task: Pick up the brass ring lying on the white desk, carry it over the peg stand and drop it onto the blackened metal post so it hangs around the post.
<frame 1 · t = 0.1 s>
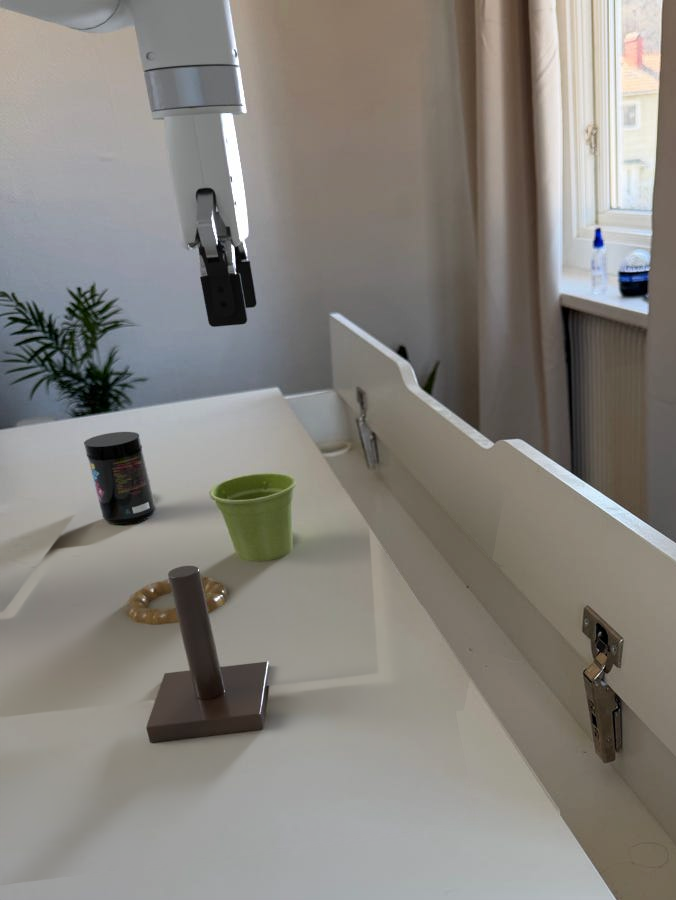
hand: (234, 316, 87), 28 cm above the table, tool pointing down, fingers open, 9 cm apart
plant pot: (266, 560, 112), on the table
supplement container: (130, 518, 128), on the table
ring: (176, 601, 100), point 1 cm above the table
peg stand: (213, 707, 82), on the table
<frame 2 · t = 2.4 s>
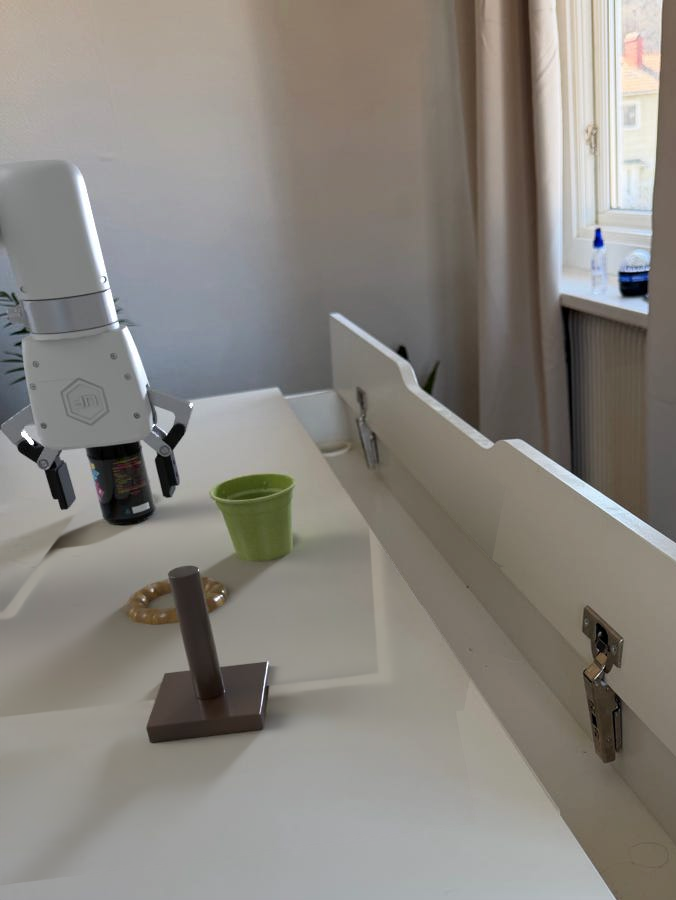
hand: (119, 499, 94), 12 cm above the table, tool pointing down, fingers open, 9 cm apart
nothing on the table moved.
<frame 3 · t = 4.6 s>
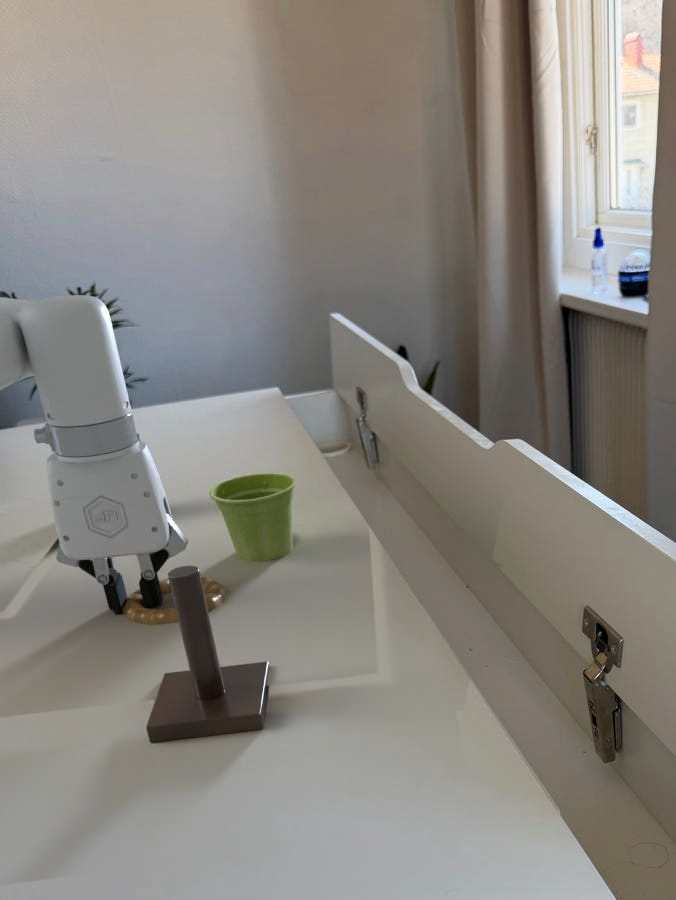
hand: (138, 611, 100), 0 cm above the table, tool pointing down, fingers closed on ring, 2 cm apart
ring: (175, 601, 100), point 1 cm above the table, touching gripper
everything else where it was.
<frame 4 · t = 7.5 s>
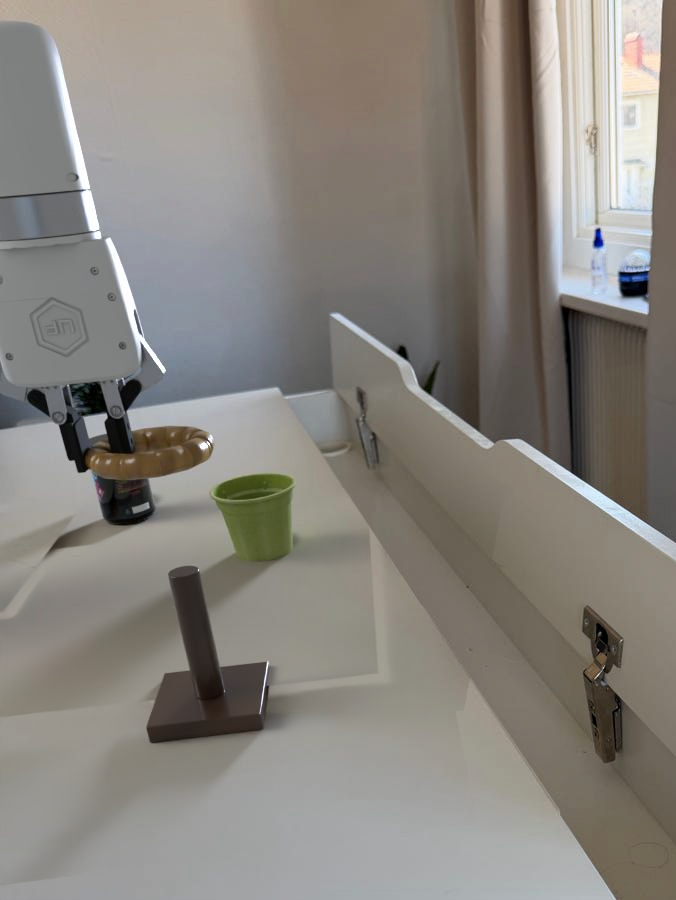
hand: (104, 464, 80), 19 cm above the table, tool pointing down, fingers closed on ring
ring: (151, 451, 80), point 20 cm above the table, touching gripper
everything else where it was.
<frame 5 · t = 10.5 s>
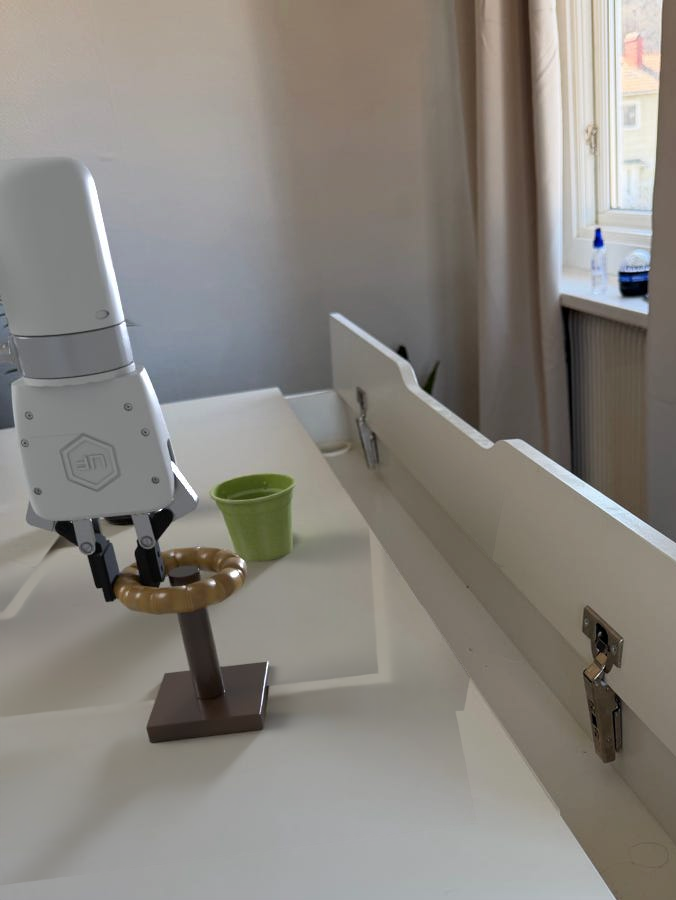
hand: (133, 590, 77), 11 cm above the table, tool pointing down, fingers closed on ring
ring: (181, 579, 77), point 12 cm above the table, touching gripper
everything else where it was.
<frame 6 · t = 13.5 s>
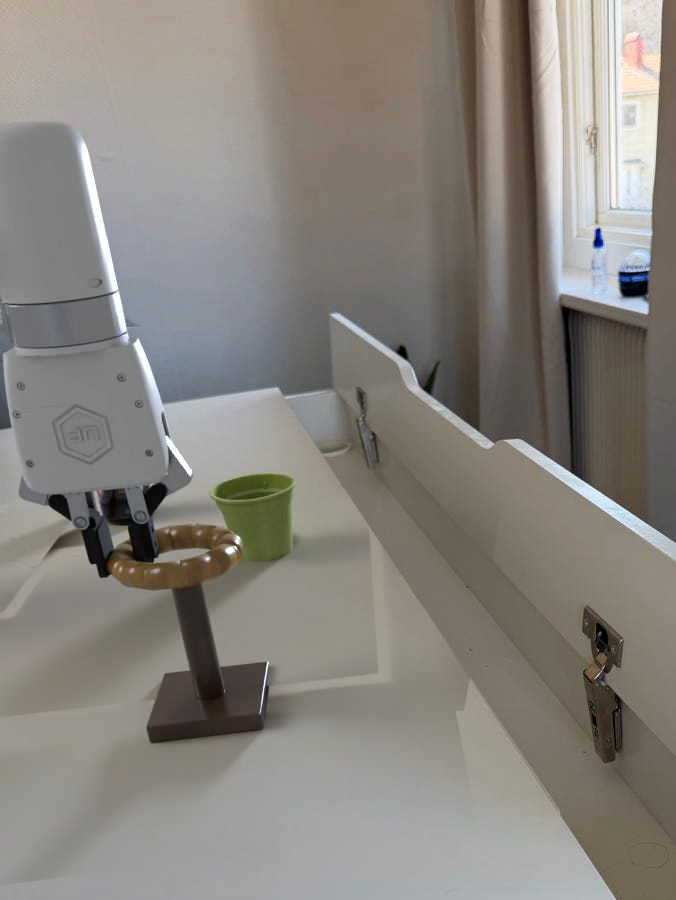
hand: (127, 567, 76), 13 cm above the table, tool pointing down, fingers closed on ring
ring: (176, 555, 76), point 14 cm above the table, touching gripper
everything else where it was.
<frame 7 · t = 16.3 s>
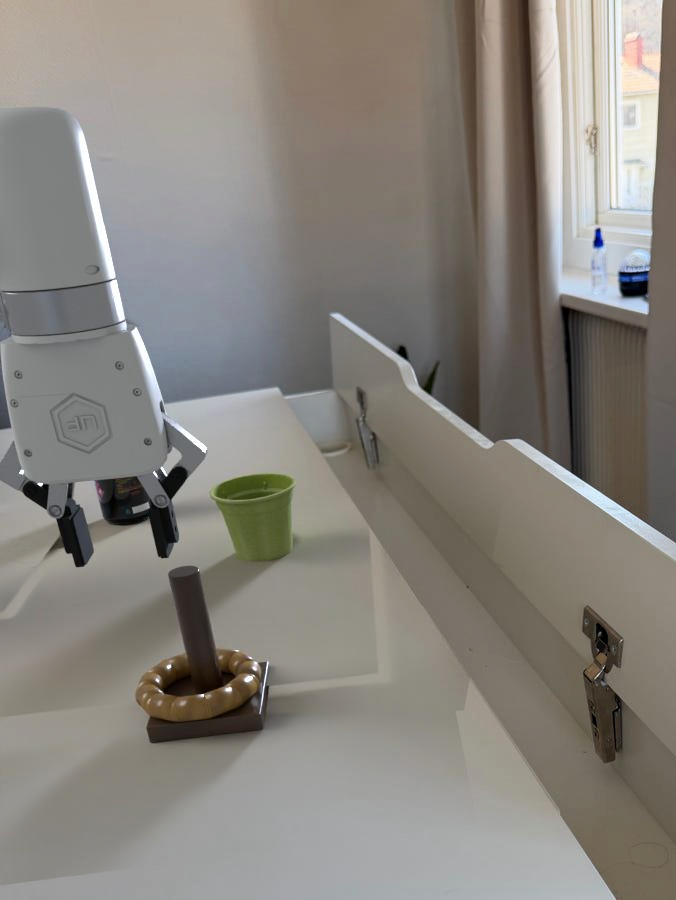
hand: (125, 554, 75), 14 cm above the table, tool pointing down, fingers open, 5 cm apart
ring: (199, 683, 81), point 2 cm above the table, touching peg stand
everything else where it was.
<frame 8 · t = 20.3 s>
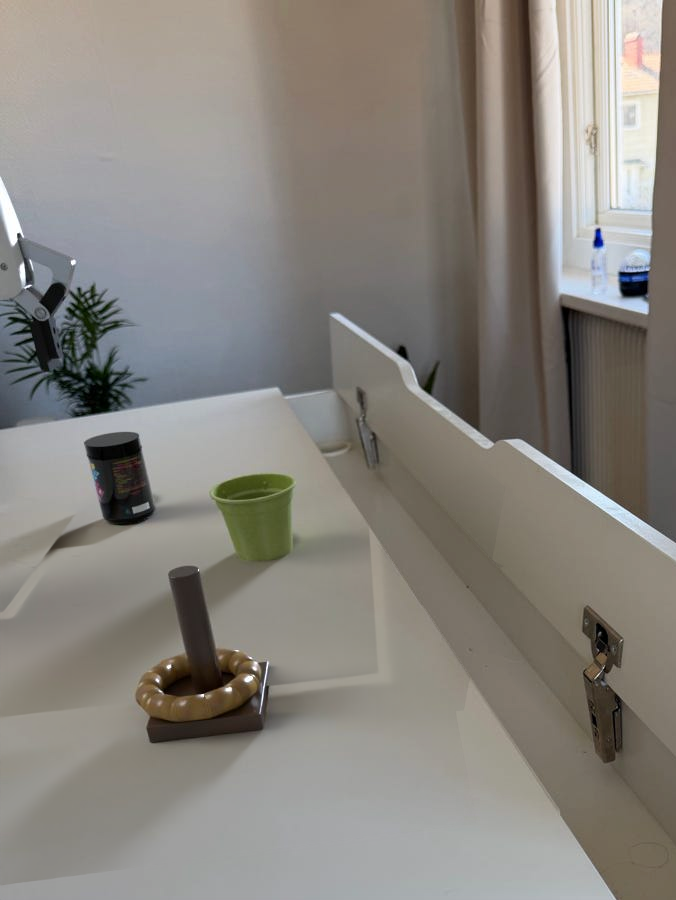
nothing on the table moved.
at the end: ring 0.7 cm from the peg stand (horizontally); ring point 2.5 cm above the table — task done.
